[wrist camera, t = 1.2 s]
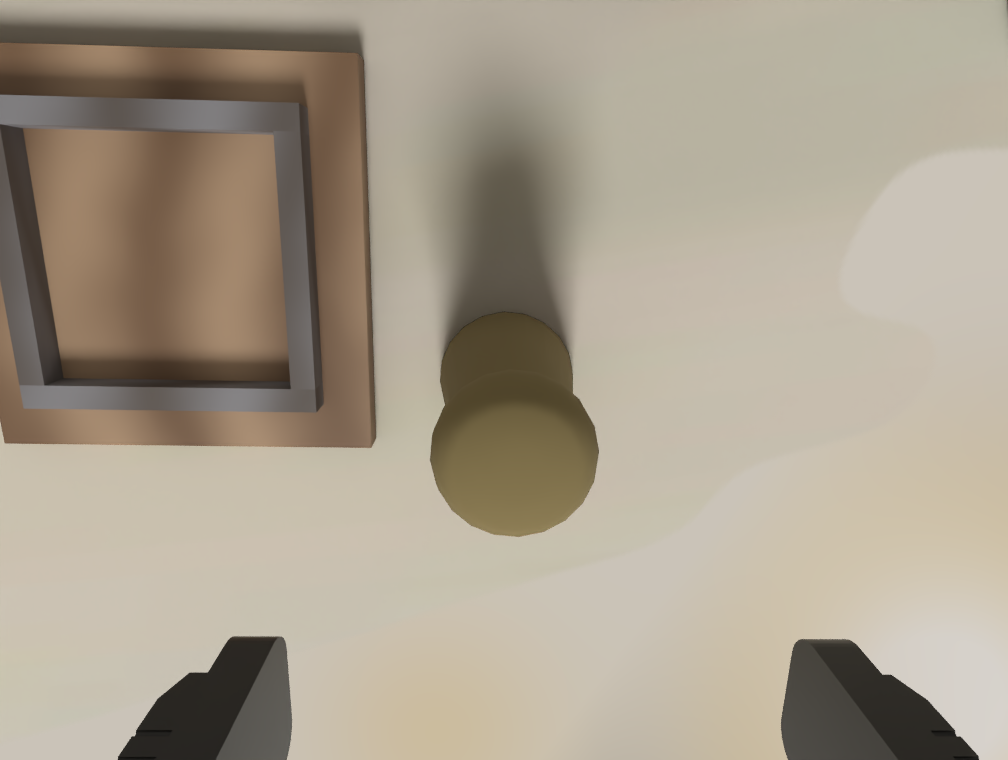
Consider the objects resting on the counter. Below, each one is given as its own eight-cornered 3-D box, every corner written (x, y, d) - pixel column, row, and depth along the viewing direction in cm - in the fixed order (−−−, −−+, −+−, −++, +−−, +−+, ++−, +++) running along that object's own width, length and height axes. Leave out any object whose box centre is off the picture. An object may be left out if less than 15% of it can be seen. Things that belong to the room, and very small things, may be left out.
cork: (415, 396, 29) (370, 504, 18) (486, 285, 27) (485, 330, 17) (524, 463, 30) (544, 603, 19) (598, 358, 28) (664, 445, 18)
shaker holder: (363, 60, 25) (351, 44, 23) (375, 438, 29) (366, 457, 27) (-47, 48, 24) (-103, 31, 22) (24, 433, 29) (-17, 453, 26)
